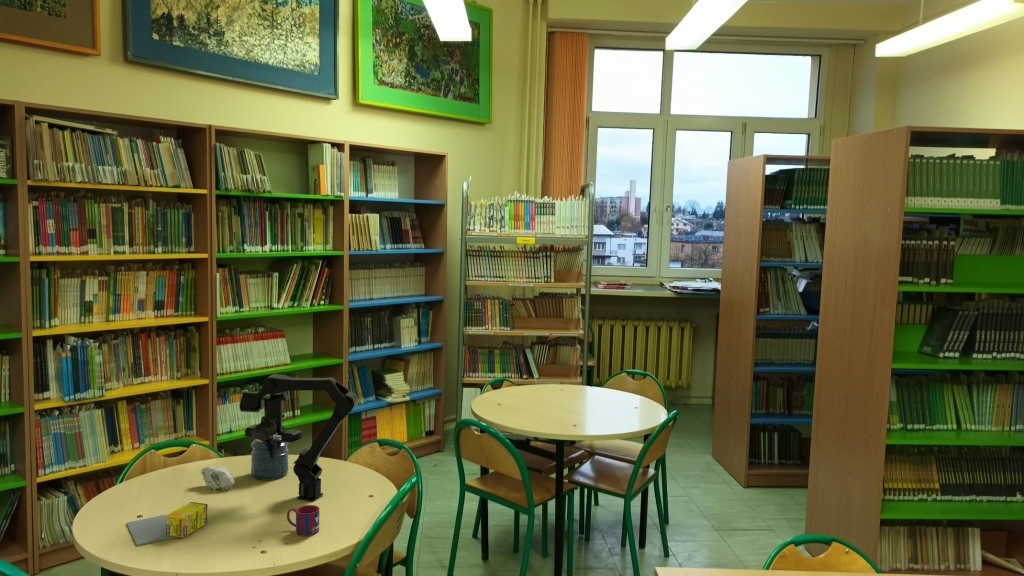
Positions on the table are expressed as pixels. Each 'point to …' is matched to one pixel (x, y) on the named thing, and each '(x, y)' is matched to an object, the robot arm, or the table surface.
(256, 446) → the canister
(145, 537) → the mat
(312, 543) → the table surface
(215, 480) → the skull
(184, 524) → the supplement box
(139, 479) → the table surface
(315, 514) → the mug
